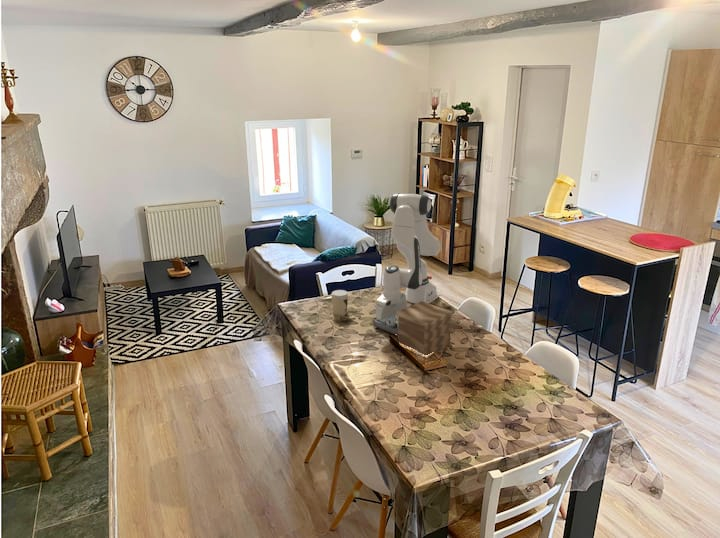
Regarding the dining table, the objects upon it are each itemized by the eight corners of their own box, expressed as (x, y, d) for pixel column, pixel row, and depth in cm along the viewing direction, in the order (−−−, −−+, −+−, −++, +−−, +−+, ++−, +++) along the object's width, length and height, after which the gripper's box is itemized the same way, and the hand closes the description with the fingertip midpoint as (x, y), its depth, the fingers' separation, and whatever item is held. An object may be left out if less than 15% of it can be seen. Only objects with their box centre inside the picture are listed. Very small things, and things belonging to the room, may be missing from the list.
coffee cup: (348, 316, 305) (347, 295, 301) (331, 316, 305) (330, 296, 301) (348, 309, 313) (348, 289, 309) (332, 309, 314) (331, 289, 310)
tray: (382, 322, 294) (382, 308, 292) (410, 334, 281) (410, 319, 278) (373, 325, 290) (373, 312, 287) (401, 338, 276) (401, 323, 274)
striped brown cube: (421, 333, 283) (421, 301, 277) (450, 345, 270) (452, 312, 264) (395, 345, 271) (396, 312, 265) (425, 358, 258) (426, 324, 252)
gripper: (401, 290, 288) (400, 314, 293) (373, 301, 275) (373, 326, 280) (410, 293, 284) (409, 318, 288) (382, 305, 271) (382, 330, 275)
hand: (391, 322), depth 284 cm, fingers closed on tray, 3 cm apart
